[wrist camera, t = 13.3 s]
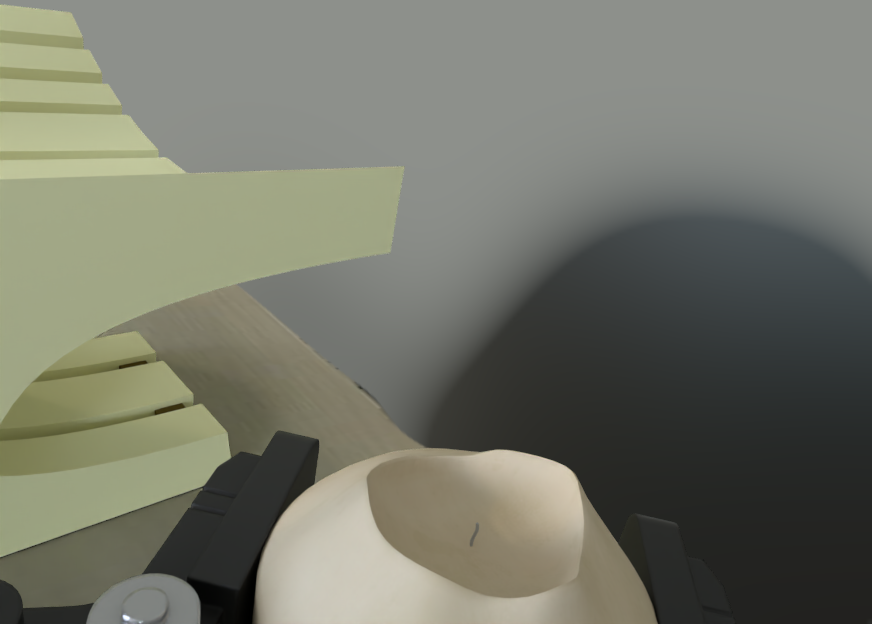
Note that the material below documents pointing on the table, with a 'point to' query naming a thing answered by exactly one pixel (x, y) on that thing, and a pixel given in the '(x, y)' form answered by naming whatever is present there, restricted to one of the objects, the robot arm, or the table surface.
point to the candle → (447, 547)
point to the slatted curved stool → (125, 282)
